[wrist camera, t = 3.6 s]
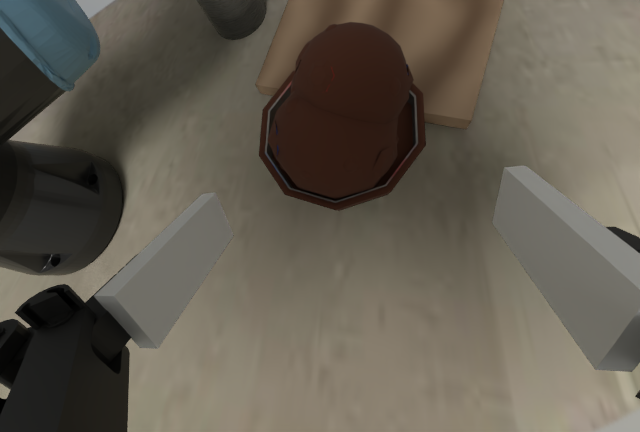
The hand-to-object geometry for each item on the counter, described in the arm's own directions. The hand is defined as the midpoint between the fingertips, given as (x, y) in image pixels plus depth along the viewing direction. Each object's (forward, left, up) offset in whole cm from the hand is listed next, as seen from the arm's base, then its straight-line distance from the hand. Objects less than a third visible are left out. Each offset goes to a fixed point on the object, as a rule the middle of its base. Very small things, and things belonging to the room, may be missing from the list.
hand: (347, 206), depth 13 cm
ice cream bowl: (-3, +6, -13) cm, 14 cm away
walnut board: (-5, +20, -13) cm, 24 cm away
